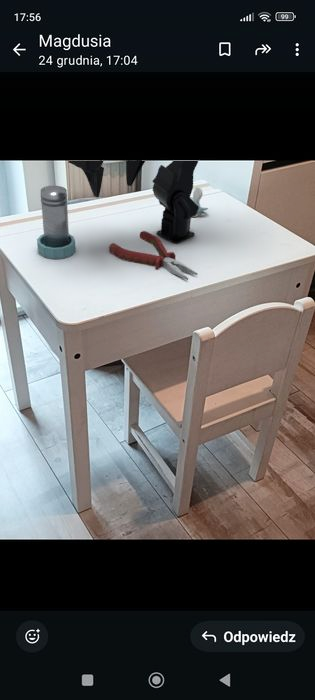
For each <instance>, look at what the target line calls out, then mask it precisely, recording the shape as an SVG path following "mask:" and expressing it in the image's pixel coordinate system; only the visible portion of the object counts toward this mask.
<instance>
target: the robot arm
mask: <svg viewBox="0 0 315 700" xmlns="http://www.w3.org/2000/svg"><path fill="white" fill-rule="evenodd" d="M67 163H70V164H71V165H73V166H74V167H77V168H79V169H81V170H82V172H83V173H84V175H85V177H86V179H87V182H88V185H89V187H90V190H91V192H92V194H93V196H94V197H95V198H97V199H98V198H99V197H100V194H101V191H102V183H103V177H104V170H105V167H103V163H104V160H103V161H67ZM145 163H146V161H126V160H125V170H126V171H125V177H126V178H125V180H126V185H127V186H128V187H132V186H133V184H134V182H135V181H136V178H137V177H138V174H139V172H140V171H141V170H142V168H143V166H144V164H145ZM198 163H199V161H173V160H172V161H171V163H169V164H167V166H164V165H163V164H161V165H160V166H158V170H157V173H156V175H155V177H154V178H153V180H152V181H151V182H152V183H153V185H152V191H153V195H154V197H155V198H156V199H157V200H158V203H159V205H160V206H162V207H164V210H163V211H162V218H161V227H160V229H159V230H157V231H156V236H157V235H158V236H160V237H162V238H164V239H166V240H168V241H170V242H171V243H174V244H180V243H182V242H184V241H186V240H188V239H190V238H193V237H194V236H195V235H196V234H195V232H193V231H191V230H190V229H191V221H192V220H191V219H192V218H193V217H192V216H196V214H197V211H198V209H199V207H198V206H197V205H196V204H195V202H194V201H193V200H192V199H191V198H190V197H191V195H192V192H193V188H194V172H195V169H196V168H197V165H198ZM196 217H197V216H196Z"/></svg>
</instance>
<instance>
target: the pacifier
mask: <svg viewBox="0 0 315 700" xmlns="http://www.w3.org/2000/svg"><path fill="white" fill-rule="evenodd" d="M192 192H193V194H192V197H191V196H190V198H191V199H192V200H193V201H194V202H195V204H196V205H197V206H198V207H199V209H198V211H197V214H196V216H192V217H191V218H197V217H199V215H200V214H201V212H204V211H207V210H209V208H208V207H201V203H200V201H201V199H202V198H203V193H204V192H203V190H202V188H201V187H200V186H197V187H195V188H194V190H193V191H192Z"/></svg>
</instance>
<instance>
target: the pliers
mask: <svg viewBox="0 0 315 700" xmlns="http://www.w3.org/2000/svg"><path fill="white" fill-rule="evenodd" d="M139 238H140V239H141V240H144V241H145V242H147V243H149V244H151V245H152V244H153V245H152V246H153V247H154V249H156V251H157V252H158V255H156V254H151V253H147V252H146V253H145V252H139V251H134V250H129V249H126V248H123V247H121V246H120V245H118V244H116V243H114V242H113V243H111V244H109V246H108V251H109V253H110V254H111V255H113V256H115V257H117V258H118V259H120V260H123V261H128V262H129V263H130V262H132V263H136V264H141V265H142V264H143V265H147V266H148V265H149V266H153V267H154V269H155V270H156V271H157V270H159V269H160V268H164V269H165V270H167V271H168V272H170V273H171V274H174V275H176V276H178V277H179V278H182V279H185V280H186V281H189V277H188V276H186V274H191V275H194V276H197V275H198V274H199V273H197V272H196V271H195V270H193V269H192V268H190V267H188V266H187V265H186V264H184V263H183V262H181V261H179V260H177V259H176V253H175V252H173V251H170V252H169V251H168V250H167V249H166V247H165V246H164V244H163V242H162V240H161V239H160V238H158V236H157V235H155V234H152V233H150V232H148V231H145V230H142V231H140V232H139Z"/></svg>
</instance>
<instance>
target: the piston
mask: <svg viewBox="0 0 315 700" xmlns="http://www.w3.org/2000/svg"><path fill="white" fill-rule="evenodd" d="M67 190H68V189H67V188H65V187H63V186H59V185H48V186H47V185H46V186H44V187H42V188H40V203H41V214H42V227H43V234H44V242H45V246H46V247H52V248H58V247H64V246H67V245H69V234H70V233H69V231H70V230H69V213H68V211H69V209H68V192H67Z"/></svg>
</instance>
